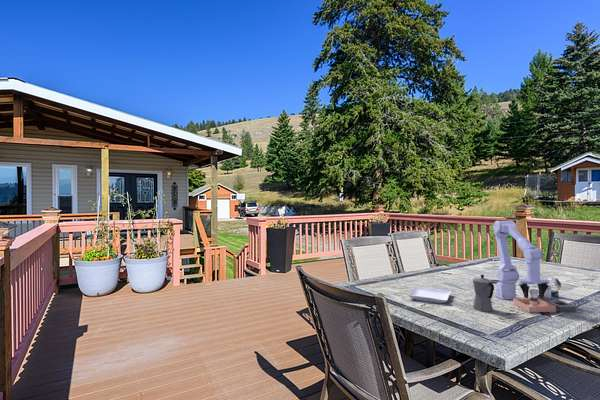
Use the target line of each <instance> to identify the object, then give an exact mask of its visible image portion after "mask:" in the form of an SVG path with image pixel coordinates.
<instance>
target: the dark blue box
mask: <svg viewBox="0 0 600 400" xmlns="http://www.w3.org/2000/svg"><path fill="white" fill-rule="evenodd" d="M549 279H552V281H553V283H554V285H555V286H556V288H557V290H554V289H551V296H552V297H554V298H556V299H558V298H559V291H560V290H561V288H562V283H561V282H560V280H559V278H556V277H554V276H550V277H546V278H545V279H544V280H549Z"/></svg>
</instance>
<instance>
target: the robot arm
mask: <svg viewBox="0 0 600 400" xmlns="http://www.w3.org/2000/svg"><path fill="white" fill-rule="evenodd" d="M492 228H493V233H494V236H495V241H496V244H497V250H498V255H499V261H500V266H498V267H497V268H496V270H497V274H496V277H497V279H498V281H497V282H496V284H495V297H498V298H500V299H502V300H513V299H520V298H519V297H518V296H517V291H516V290H517V286H516V285H517V283H518V285H519V287H520V289H521V291H522V294H523V297H524V298H523V299H529V289H530V285H537V287H538V289H537V290H538V295H539V297H540V298H543V297H544V293H545V291H546V289H547V288H548V285H549V284H550V280H549V279H547V280H545V279H541V260H542V259H543V256H544V255H543V251H542V250H541V248H539V247H535V246H534V245H533V244H532V242H531V241H530V240H529V239H528V238H526V237H523V236H522V234H521V233H520V232H519V230H518V229H517V224H516V223H515V222H514V221H513V220H495V221H494V223H493V225H492ZM508 236H511V237H512V238H513V239H515V241H516V244H517V247H519V249H520V251H522V252H523V257H524V260H525V263H526V279H520V274H519V272H518V269H517V267H516V266H515V265H513V264H512V259H511V255H510V250H509V243H508V239H507V237H508Z"/></svg>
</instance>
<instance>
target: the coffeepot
mask: <svg viewBox="0 0 600 400" xmlns="http://www.w3.org/2000/svg"><path fill="white" fill-rule="evenodd" d="M472 284H473V289H474V293H475V295H474V298H473V299H474V300H473V305H472V306H473V310H475V311H478V312H483V313H490V312H493V309H494V308H493V303H492V298H493V294H494V291H495V285H494V282H493V280H492V279H488V278H485V275H484V274H480V277H474V278H472Z"/></svg>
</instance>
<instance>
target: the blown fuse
mask: <svg viewBox="0 0 600 400" xmlns="http://www.w3.org/2000/svg"><path fill="white" fill-rule="evenodd" d="M538 295H539V289H535V288H529V292H528V299H529V300H530V304H529V306H538Z"/></svg>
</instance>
